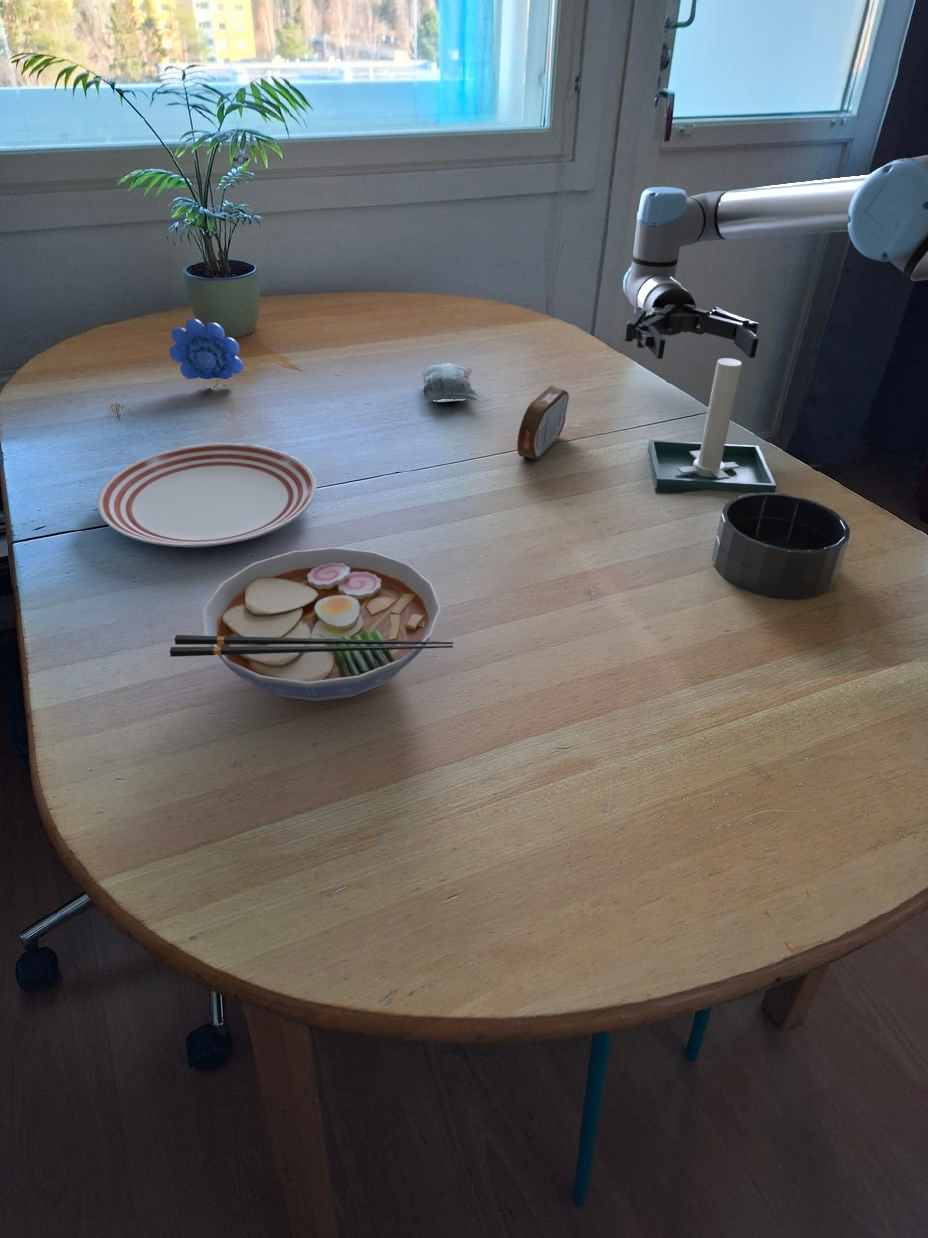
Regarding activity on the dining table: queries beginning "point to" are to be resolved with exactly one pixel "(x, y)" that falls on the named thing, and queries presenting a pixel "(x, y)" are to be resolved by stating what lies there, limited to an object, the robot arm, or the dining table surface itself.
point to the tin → (542, 422)
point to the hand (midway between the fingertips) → (708, 348)
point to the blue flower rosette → (205, 351)
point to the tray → (743, 479)
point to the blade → (717, 423)
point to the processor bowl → (780, 545)
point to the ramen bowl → (318, 622)
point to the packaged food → (447, 382)
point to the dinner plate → (207, 495)
